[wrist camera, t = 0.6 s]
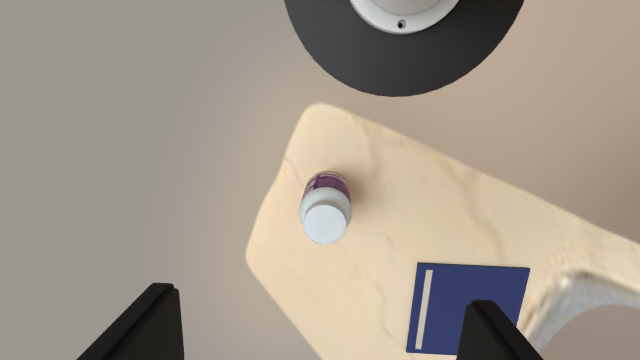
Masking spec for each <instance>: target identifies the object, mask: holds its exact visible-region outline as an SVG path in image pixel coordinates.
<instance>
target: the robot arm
mask: <svg viewBox="0 0 640 360" xmlns="http://www.w3.org/2000/svg"><path fill="white" fill-rule="evenodd" d="M349 1H350V2H351V4H352V6H353V8H354V9H355V11H356V12H357V13H358V15H359V16H360V17H361V18H362V19H363V20H364V21H366V22H367V23H368V24H369V25H371V26H372V27H374V28H376V29H378V30H380V31H383V32H387V33H390V34H401V35H402V34H410V33H415V32H418V31H421V30H424V29H426V28H428V27H430V26H432V25H433V24H435V23H437V22H438V21H439V20H440V19H442V18H443V17H444V16H445V15H446V14H447V13H448V12H450V11H451V10H452V9H453V7H454V6H455V5H456V3H457V2H458V1H459V0H349ZM398 24H402V28H399V27H398ZM77 360H184V346H183V335H182V322H181V311H180V299H179V291H178V289H175V288H174V286H173V284H170V283H153V284H152V285H150V286H149V287H148V288H147V289H146V290H145V291H144V292H143V293H142V294H141V295H140V296H139V297H138V298H137V299H136V300H135V301H134V302H133V303H132V304H131V305H130V306H129V307H128V308H127V310H125V311H124V312H123V313H122V314H121V315H120V317H118V318H117V319H116V320H115V321H114V322H113V323H112V324H111V325H110V326H109V327H108V328H107V329H106V330H105V332H103V333H102V334H101V336H100V337H98V338H97V340H96V341H94V342H93V344H92V345H91V346H90V347H89V348H88V349H87V350H86V351H85V352H84V353H83V354H82V355H81V356H80V357H79V358H78V359H77ZM456 360H543V359H542V357H540V355H539V354H538V353H537V351H536V350H535V349H534V348H533V347H532V345H531V344H530V343H529V342H528V341H527V340H526V338H525V337H524V336H523V335H522V334H521V332H520V331H519V330H518V329H517V328H516V326H515V325H514V324H513V323H512V322H511V320H510V319H509V318H508V317H507V316H506V315H505V313H504V312H503V311H502V310H501V309H500V307H499V306H498V305H497V304H496V303H495V302H494V301H492V300H477V299H474V300H472V302H471V304H467V305H466V308H465V314H464V320H463V325H462V331H461V336H460V342H459V348H458V353H457V359H456Z"/></svg>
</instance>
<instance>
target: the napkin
mask: <svg viewBox="0 0 640 360" xmlns="http://www.w3.org/2000/svg"><path fill="white" fill-rule="evenodd" d="M529 273H530V269H529V268H518V267H497V266H476V265H456V264H435V263H418V265H417V272H416V280H415V287H414V295H413V303H412V310H411V318H410V325H409V333H408V341H407V348H406V352H407V353H425V354H442V355H457V353H458V348H459V342H460V336H461V331H462V325H463V320H464V314H465V308H466V305H467V304H471V302H472V300H474V299H477V300H492V301H494V302H495V303H496V304H497V305H498V306H499V307H500V309H501V310H502V311H503V312H504V313H505V315H506V316H507V317H508V318H509V319H510V320H511V322H512V323H513V324H514V325H515V326H516V325H517V321H518V317H519V313H520V309H521V305H522V301H523V297H524V293H525V289H526V285H527V281H528V277H529Z"/></svg>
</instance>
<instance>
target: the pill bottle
mask: <svg viewBox="0 0 640 360" xmlns="http://www.w3.org/2000/svg"><path fill="white" fill-rule="evenodd" d="M299 216H300V220H301V223H302V225H303V226H304V231H305V233H306V234H307V236H308V237H309V238H310V239H311V240H313V241H314V242H316V243H320V244H331V243H334V242H336V241H338V240H339V239H340V238H341V237H342V236H343V234H344V233H345V230H346V228H347V227H348V225H349V223H350V221H351V217H352V207H351V201H350V195H349V188H348V185H347V183H346V181H345V180H344V179H343V178H342V177H341V176H340V175H338V174H336V173H333V172H321V173H318V174H316V175H314V176H313V177H312V178H311V179H310V180H309V182H308V183H307V185H306V188H305V191H304V194H303V197H302V201H301V204H300V208H299Z"/></svg>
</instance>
